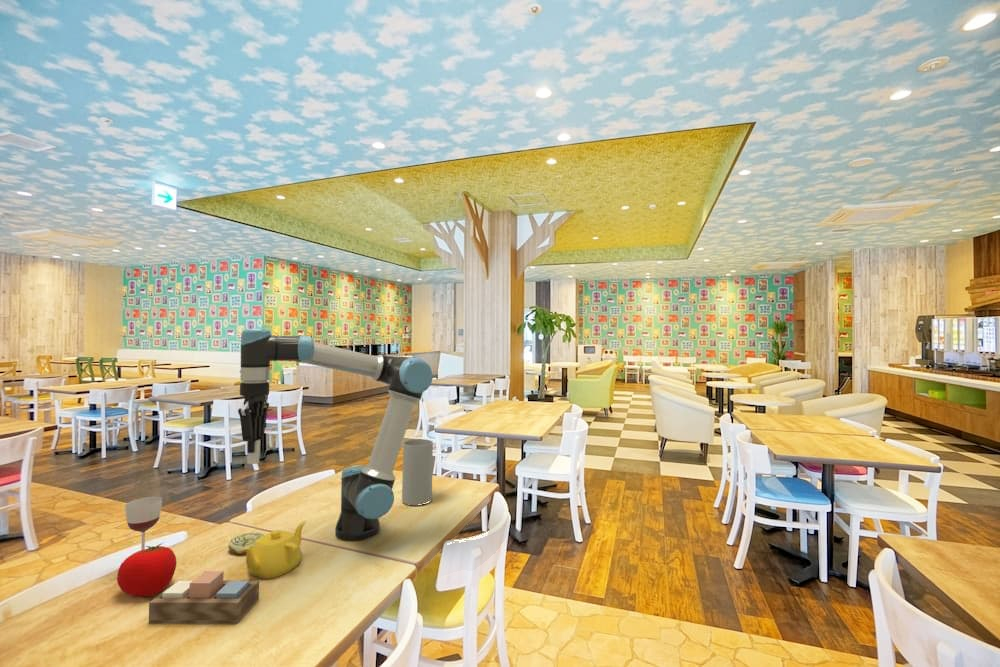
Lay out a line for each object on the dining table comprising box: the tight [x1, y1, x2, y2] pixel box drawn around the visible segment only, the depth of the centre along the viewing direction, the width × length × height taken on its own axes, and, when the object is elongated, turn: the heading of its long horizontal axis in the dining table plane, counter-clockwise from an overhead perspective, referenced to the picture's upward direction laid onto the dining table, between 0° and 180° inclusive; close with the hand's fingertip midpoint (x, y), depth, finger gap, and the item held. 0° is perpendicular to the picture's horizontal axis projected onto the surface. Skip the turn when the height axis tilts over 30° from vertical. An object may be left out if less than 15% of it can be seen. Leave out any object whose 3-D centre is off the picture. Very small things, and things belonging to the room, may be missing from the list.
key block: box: [148, 579, 260, 625], centre depth 113 cm, size 21×10×5 cm, turn 91°
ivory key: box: [161, 580, 192, 599], centre depth 113 cm, size 5×6×5 cm
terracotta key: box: [189, 570, 225, 599], centre depth 113 cm, size 5×6×5 cm
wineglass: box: [125, 496, 163, 551], centre depth 132 cm, size 8×9×20 cm
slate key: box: [216, 580, 250, 599], centre depth 113 cm, size 5×6×5 cm
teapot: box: [241, 520, 307, 580], centre depth 134 cm, size 22×16×11 cm
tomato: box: [116, 542, 177, 598], centre depth 121 cm, size 12×14×11 cm
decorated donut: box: [228, 532, 265, 556], centre depth 147 cm, size 10×11×4 cm
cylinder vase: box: [401, 438, 434, 506], centre depth 192 cm, size 12×12×25 cm
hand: (253, 463), depth 130 cm, fingers closed
